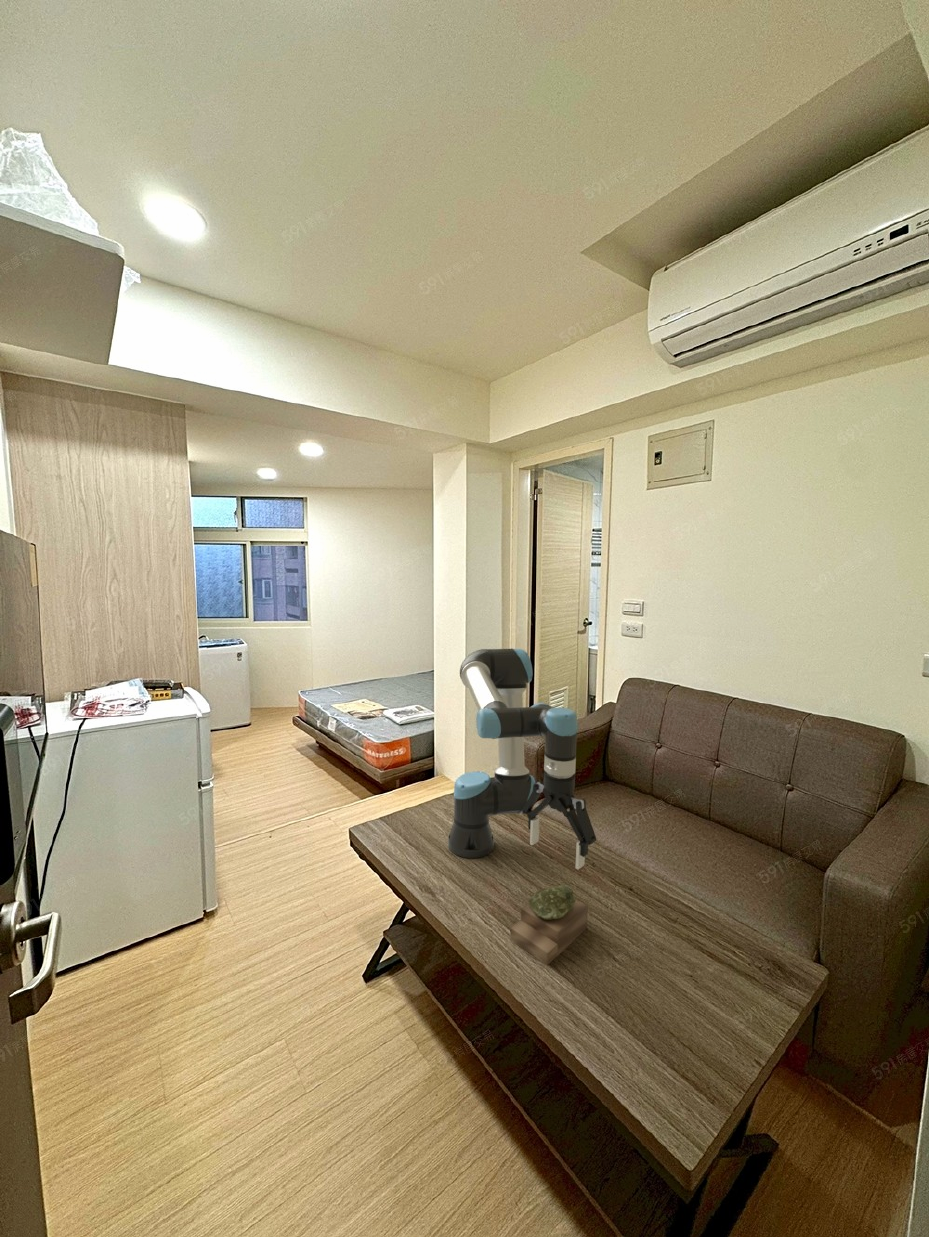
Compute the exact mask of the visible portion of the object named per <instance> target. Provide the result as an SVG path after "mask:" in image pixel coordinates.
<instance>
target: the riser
mask: <svg viewBox="0 0 929 1237" xmlns="http://www.w3.org/2000/svg"><path fill="white" fill-rule="evenodd" d="M551 887H555V886H554V885H551V886H549V887H548V888H551ZM588 908H589V906H588V905H587V904H586V903H583V902H581V901H580V900H578V899H577V898H575V904H574V906H573V908H572V910H571V911H569V912H567V913H566V915H565V916H563V917H561V918H558V919H551V920H550V919H543V918H541V917H538V916H537V915H536V914H535V912H534V911H533V909H532V908H531V906H530V905H529V903H528V902H527V903H526V905H524V906H523V907H521V909H520V910H521V911H520V920H519V921H517V922H516V923H515V924H514V925H512V926H511V927H510V930H509V931H510V940H511V941H512V942H513V943H515V944H516V945H517V946H519V947H521V948H522V949H523V950H524V951H526V952H528V953H529V954H530V955H532V956H533V957H534V958H536V959H538V961H540V962H541V963H543V964H544V965H546V966H548V965H550V964H551V963H552V962H553V961H554V960H555V959H556V958H557V957H558V956H559V955H561V954H562V952H564V951H565V949H566V948H568V947H569V946H570V944H572V943H573V942H574V941H575V940H576V939H577V938H578V937H579V936H580V935H582V934H583V933H584V932H585V931H586V930H587V929H588V913H589V912H588V910H589V909H588Z"/></svg>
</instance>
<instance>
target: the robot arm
mask: <svg viewBox="0 0 929 1237" xmlns="http://www.w3.org/2000/svg"><path fill="white" fill-rule="evenodd" d="M459 677H460V680H461V682H462V684H463V686H465V687H466V688H467V689H468V690H469V692H470V694H471V697H472V699H473V701H474V703H475V705H476V707H477V710H478V711H477V712H476V716H475V723H476V724H475V725H476V730H477V735H478V736H479V737H480V738H481V739H492V740H498V743H497V745H498V748H497V749H498V766H497V768H496V769H495V770H494V776H490V775H489V774H488V773H487V772H484V771H478V770H477V771H468V772H465V773H463V774H461V775H460V776H459V777H457V778H456V779H455V782H454V788H453V823H452V826H451V828H450V832H449V835H448V838H447V847H448V849H449V851H450V852H451V853H453V854H454V855H456V856H458V857H461V858H466V859H478V858H482V857H485V856H487V855H490V853H492V852H493V850H494V848H495V838H494V837H495V836H494V835H493V832H492V828H491V825H490V816H494V815H495V816H497V815H509V814H510V815H511V814H516V815H519V814H523V815H526V816H527V818H528V823H527V824H528V825H527V826H528V830H529V845H531V846H533V845H535V844H537V843H538V842H539V838H540V836H539V835H540V817H539V816H538V815H539V814H540V813H541V812H542V811H543V810H544V809H546V808H547V807H548V806H549V807H550V809H551V810H552V809H554V810H556V811H558V812H559V813H562V814H563V816H564V817H565V818H566V819H567V821H568V822H569V825H570V827H571V828H572V830H573V832H574V834H575V836H576V837H577V838H576V839H578V841H576V845H575V846H576V847H575V868H574V869H576V870H580V869H581V868H582V867H584V866H585V860H586V859H585V858H586V856H587V855H588V854H589V846H591V845H592V844H594V843H595V842H596V841H597V837H596V833H595V831H594V827H593V824H592V822H591V819H590V816H589V814H588V810H587V805H586V800H585V798H580V799H578V798H576V797H575V796H574V791H575V786H576V781H575V780H576V775H575V774H576V762H577V744H578V743H577V740H578V731H579V725H578V715H577V713H576V712H575V711H574V710H573V709H569V708H565V707H553V706H551V705H549V704H548V703H545V702H537V703H534V704H533V705H531V706H530V707H529V706H528V707H526V706H524V705H523V704H524V703H523V700H524V698H523V694H524V692H525V691H526V690H527V689H528V688H527V687H528V686H527V685H528V684H529V683H531V682H532V679H533V666H532V661H531V659H530V656H529V654H528V652H527V651H526V650H524V649H522V648H512V647H511V648H483V649H482V648H481V649H477V650H474V651H472V652H471V653H470V654H468V655H467V656H466V657H465V658H464V659H463V660H462V662H461V665H460V667H459ZM526 737H527V738H528V737H529V738H530V737H541V738H542V739H543V740H544V760H543V761H544V763H543V769H544V772H543V781H538V782H536V779H535V777H534V776H533V775H531V773H530V770H529V769H528V768H527V767H526V765H525V738H526ZM542 793H543V795H544V799H543V800H542V801H541V802H540V803H539V804H538V805H537V806H536V807H535V808H534V806H535V804H536V803H537V801H538V799H539V798H540V796H541V794H542ZM533 808H534V809H533ZM568 809H569V810H568Z"/></svg>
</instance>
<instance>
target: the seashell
mask: <svg viewBox="0 0 929 1237" xmlns="http://www.w3.org/2000/svg"><path fill="white" fill-rule="evenodd" d="M575 899H576V898H575V897H574V891H573V889H572V887H569V886H567V885H557V886H554V887H551V888H549V887H547V888H543V889H540V890H537V891H536V892H535V893H533V894H532V896H531V897H530V898H529V900H528V902H527V904H528V903H529V905H530V906H531V908H532V909H533V911H534V912H535V914H536V915H537V916H538V917H541V918H543V919H550V920H551V919H558V918H561V917H563V916H565V915H566V913H567V912H569V911H571V910H572V908H573V906H574V904H575Z"/></svg>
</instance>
